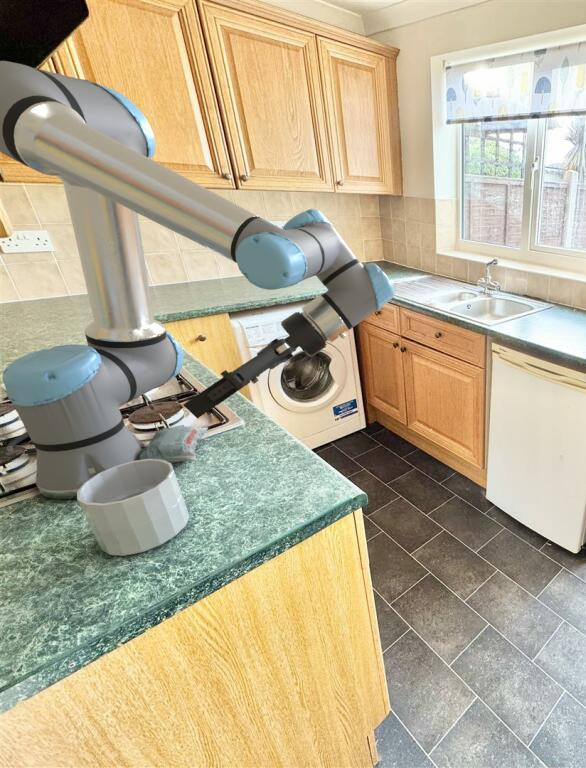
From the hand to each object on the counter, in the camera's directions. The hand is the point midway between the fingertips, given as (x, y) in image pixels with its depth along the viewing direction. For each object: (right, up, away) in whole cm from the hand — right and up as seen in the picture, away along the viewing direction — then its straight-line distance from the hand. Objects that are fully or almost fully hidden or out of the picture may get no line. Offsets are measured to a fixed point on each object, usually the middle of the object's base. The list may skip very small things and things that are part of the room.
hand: (201, 405), depth 68 cm
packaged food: (-17, -11, +17) cm, 27 cm away
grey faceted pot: (-8, -20, -1) cm, 21 cm away
